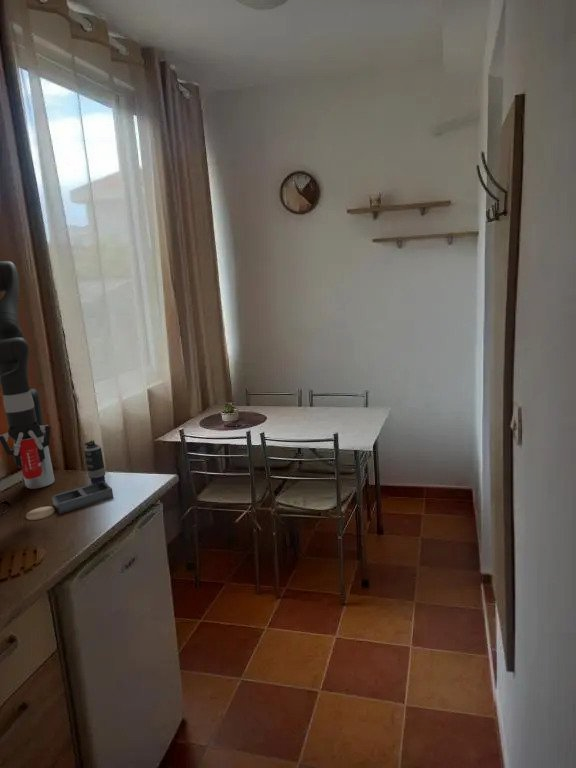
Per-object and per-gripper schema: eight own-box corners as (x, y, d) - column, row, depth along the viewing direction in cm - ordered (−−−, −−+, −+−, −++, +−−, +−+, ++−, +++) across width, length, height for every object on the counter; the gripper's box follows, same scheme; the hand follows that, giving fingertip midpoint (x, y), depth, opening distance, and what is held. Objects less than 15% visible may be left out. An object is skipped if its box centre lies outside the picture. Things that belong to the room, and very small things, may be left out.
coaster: (24, 514, 163) (23, 512, 163) (52, 505, 167) (51, 504, 167) (28, 522, 156) (28, 520, 156) (57, 513, 161) (57, 512, 160)
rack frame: (53, 504, 168) (51, 495, 167) (105, 489, 176) (103, 480, 176) (59, 513, 160) (58, 504, 160) (113, 497, 169) (112, 488, 168)
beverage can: (36, 479, 156) (28, 439, 154) (19, 479, 157) (11, 440, 155) (46, 472, 161) (39, 434, 159) (30, 473, 162) (23, 435, 160)
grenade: (101, 486, 180) (94, 443, 177) (82, 486, 181) (75, 443, 178) (109, 479, 185) (102, 438, 182) (91, 480, 186) (84, 438, 183)
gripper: (43, 400, 162) (54, 454, 165) (-10, 411, 154) (2, 467, 158) (49, 404, 156) (59, 460, 159) (-7, 415, 148) (5, 474, 151)
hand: (30, 463), depth 158 cm, fingers closed on beverage can, 5 cm apart
